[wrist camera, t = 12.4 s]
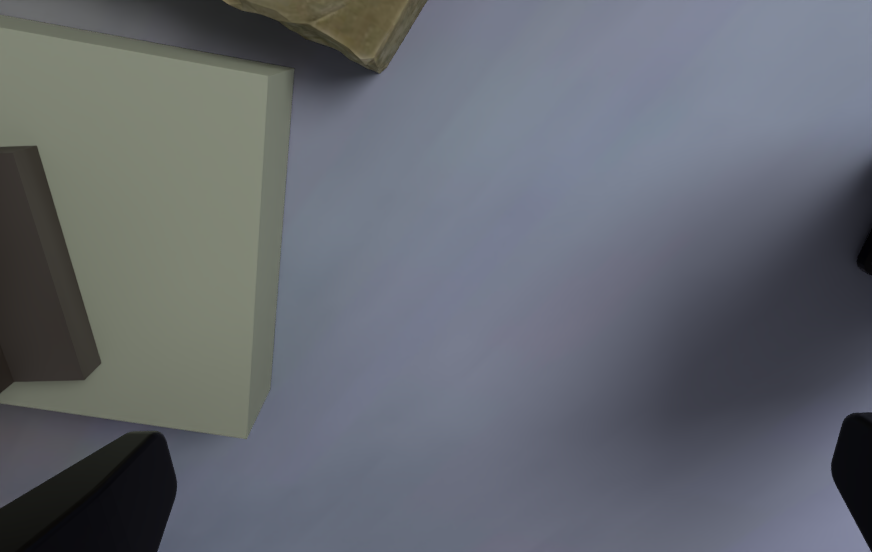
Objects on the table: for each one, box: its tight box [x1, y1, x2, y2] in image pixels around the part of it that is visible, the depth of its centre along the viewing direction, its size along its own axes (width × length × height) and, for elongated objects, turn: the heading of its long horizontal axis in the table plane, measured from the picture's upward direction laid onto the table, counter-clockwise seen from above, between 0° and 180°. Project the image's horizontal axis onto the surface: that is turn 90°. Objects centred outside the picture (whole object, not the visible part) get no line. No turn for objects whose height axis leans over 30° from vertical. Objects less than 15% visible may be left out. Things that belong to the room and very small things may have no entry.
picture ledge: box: [0, 15, 294, 439], centre depth 18 cm, size 14×12×4 cm
